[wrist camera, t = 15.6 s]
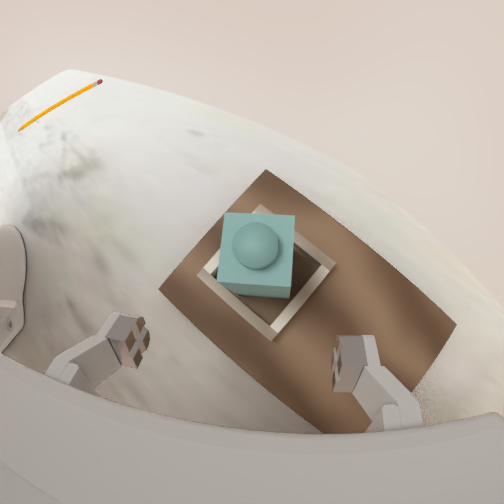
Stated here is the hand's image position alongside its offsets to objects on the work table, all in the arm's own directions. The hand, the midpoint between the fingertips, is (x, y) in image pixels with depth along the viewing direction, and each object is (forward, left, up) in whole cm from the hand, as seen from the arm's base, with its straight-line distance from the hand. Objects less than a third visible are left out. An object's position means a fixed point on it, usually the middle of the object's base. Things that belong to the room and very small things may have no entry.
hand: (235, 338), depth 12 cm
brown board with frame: (+4, -2, -13) cm, 13 cm away
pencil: (+2, +46, -13) cm, 48 cm away
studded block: (+4, +3, -11) cm, 12 cm away
